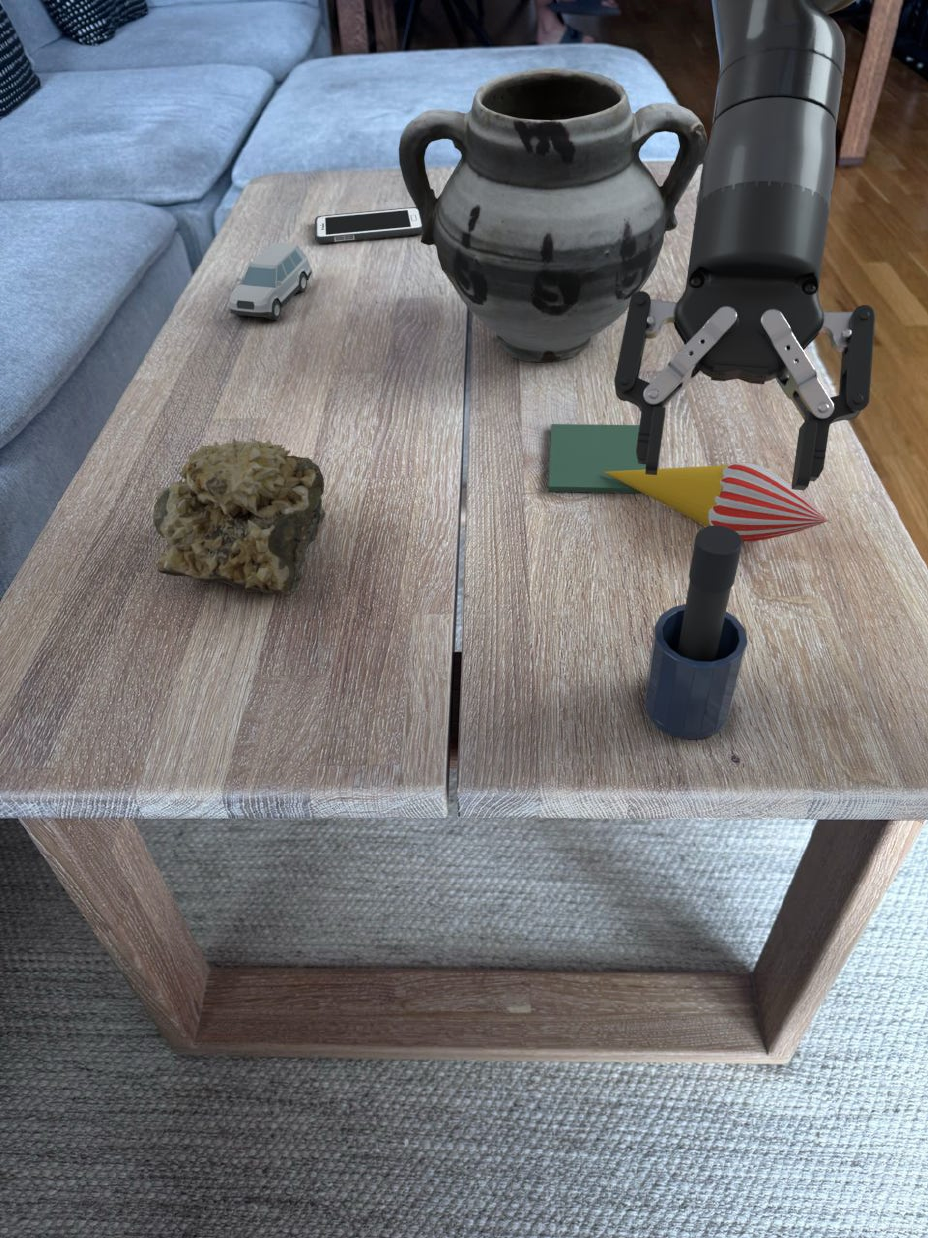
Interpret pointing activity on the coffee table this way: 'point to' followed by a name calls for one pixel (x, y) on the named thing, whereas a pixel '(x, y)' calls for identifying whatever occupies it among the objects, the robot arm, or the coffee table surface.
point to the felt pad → (592, 457)
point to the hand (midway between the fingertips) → (724, 480)
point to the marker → (709, 591)
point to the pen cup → (692, 679)
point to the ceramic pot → (549, 203)
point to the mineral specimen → (241, 516)
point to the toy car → (271, 282)
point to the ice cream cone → (729, 498)
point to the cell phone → (368, 225)
